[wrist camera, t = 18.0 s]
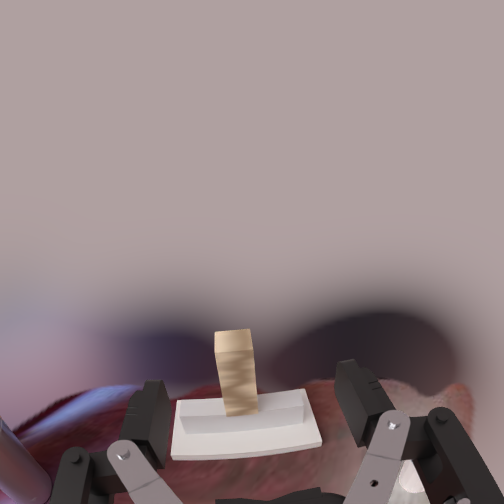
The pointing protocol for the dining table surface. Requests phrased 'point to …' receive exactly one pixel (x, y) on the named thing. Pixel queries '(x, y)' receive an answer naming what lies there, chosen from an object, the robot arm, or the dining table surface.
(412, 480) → the white cylinder
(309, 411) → the ridge stand
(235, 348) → the maple block
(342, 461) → the dining table surface
